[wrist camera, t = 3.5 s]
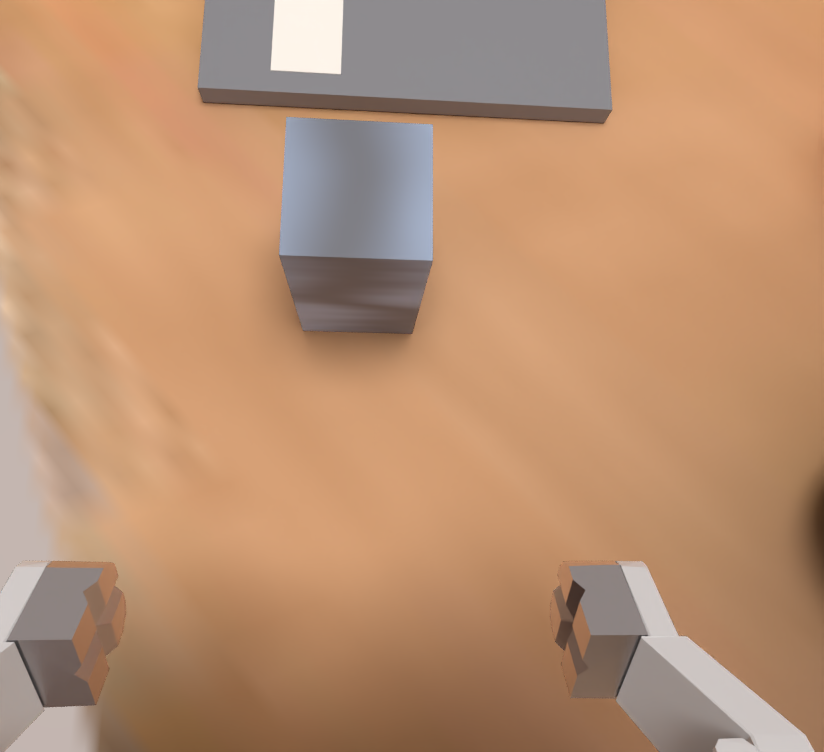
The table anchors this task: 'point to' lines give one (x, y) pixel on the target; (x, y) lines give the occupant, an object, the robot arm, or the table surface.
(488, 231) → the table surface
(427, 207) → the slate-blue block
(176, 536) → the table surface
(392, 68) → the letter board
